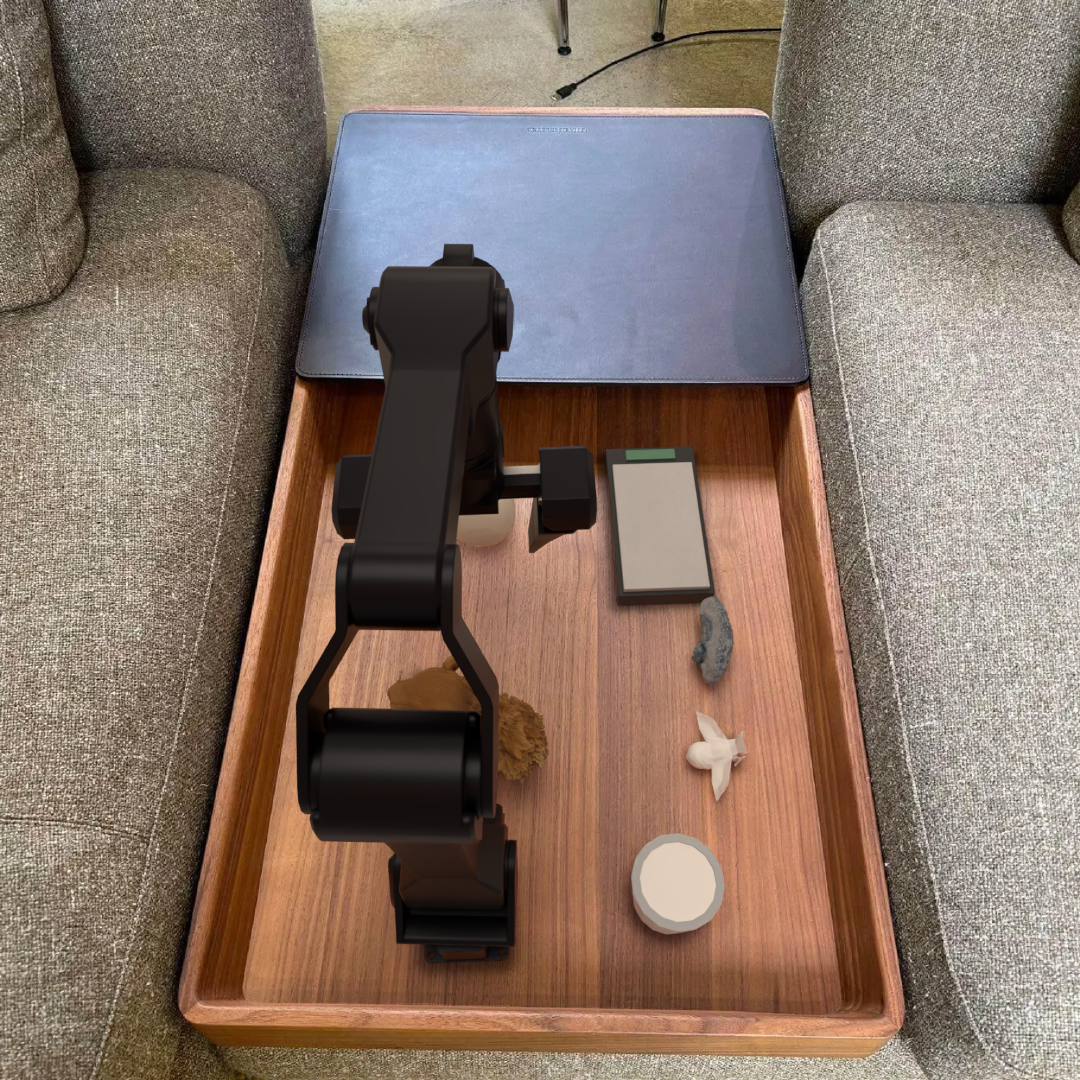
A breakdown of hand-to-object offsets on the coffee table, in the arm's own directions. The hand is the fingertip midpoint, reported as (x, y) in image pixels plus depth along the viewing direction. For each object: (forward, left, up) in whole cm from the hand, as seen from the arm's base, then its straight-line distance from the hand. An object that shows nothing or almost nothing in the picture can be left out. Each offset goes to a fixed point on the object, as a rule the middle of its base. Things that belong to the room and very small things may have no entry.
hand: (474, 550), depth 71 cm
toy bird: (-14, -20, -14) cm, 28 cm away
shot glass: (-25, -15, -14) cm, 32 cm away
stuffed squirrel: (-11, +1, -14) cm, 18 cm away
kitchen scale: (+10, -17, -14) cm, 24 cm away
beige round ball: (+10, 0, -14) cm, 18 cm away
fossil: (-4, -21, -14) cm, 25 cm away
